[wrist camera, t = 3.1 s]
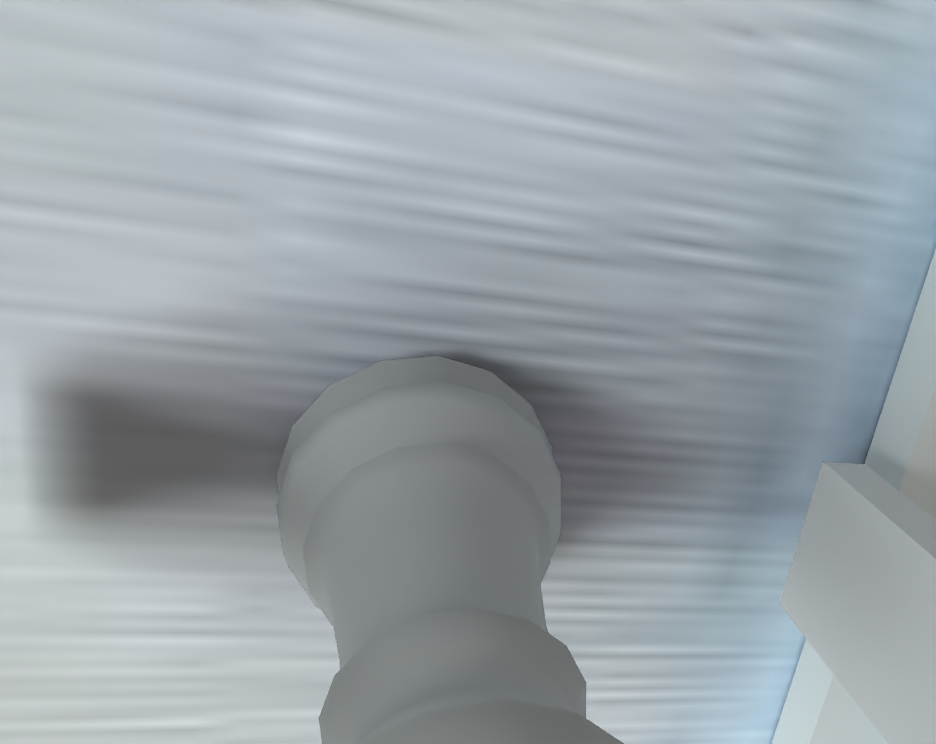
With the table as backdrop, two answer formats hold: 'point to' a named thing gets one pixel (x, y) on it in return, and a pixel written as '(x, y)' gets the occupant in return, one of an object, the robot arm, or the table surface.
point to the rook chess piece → (431, 558)
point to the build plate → (918, 478)
